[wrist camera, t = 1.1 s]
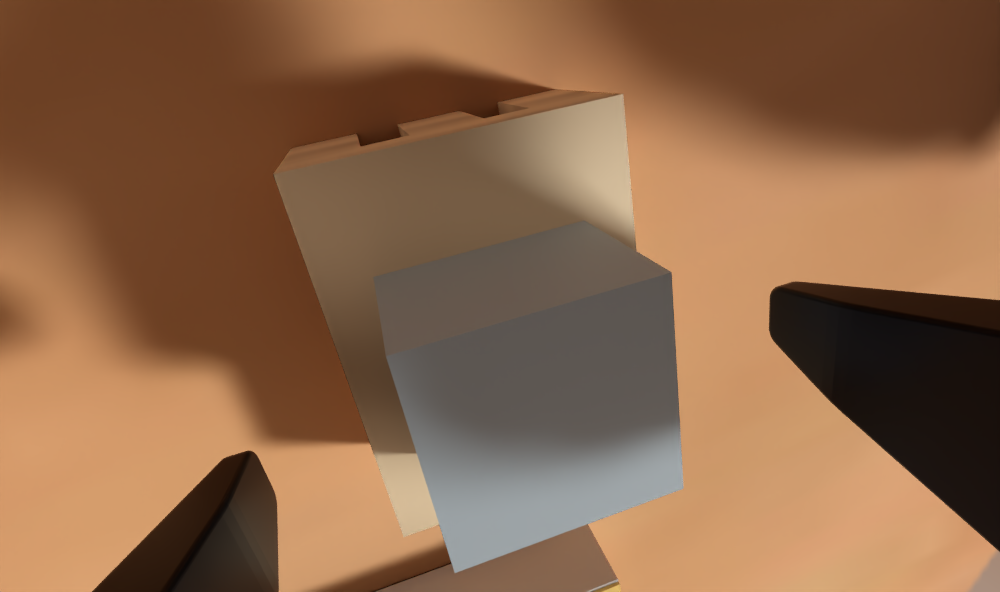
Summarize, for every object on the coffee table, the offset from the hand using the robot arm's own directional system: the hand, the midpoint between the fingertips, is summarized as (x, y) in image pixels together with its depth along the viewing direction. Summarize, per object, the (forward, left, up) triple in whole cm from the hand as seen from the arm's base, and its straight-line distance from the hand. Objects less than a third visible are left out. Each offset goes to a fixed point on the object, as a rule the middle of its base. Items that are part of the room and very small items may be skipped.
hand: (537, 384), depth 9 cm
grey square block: (0, 0, -2) cm, 2 cm away
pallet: (0, 0, -5) cm, 5 cm away
